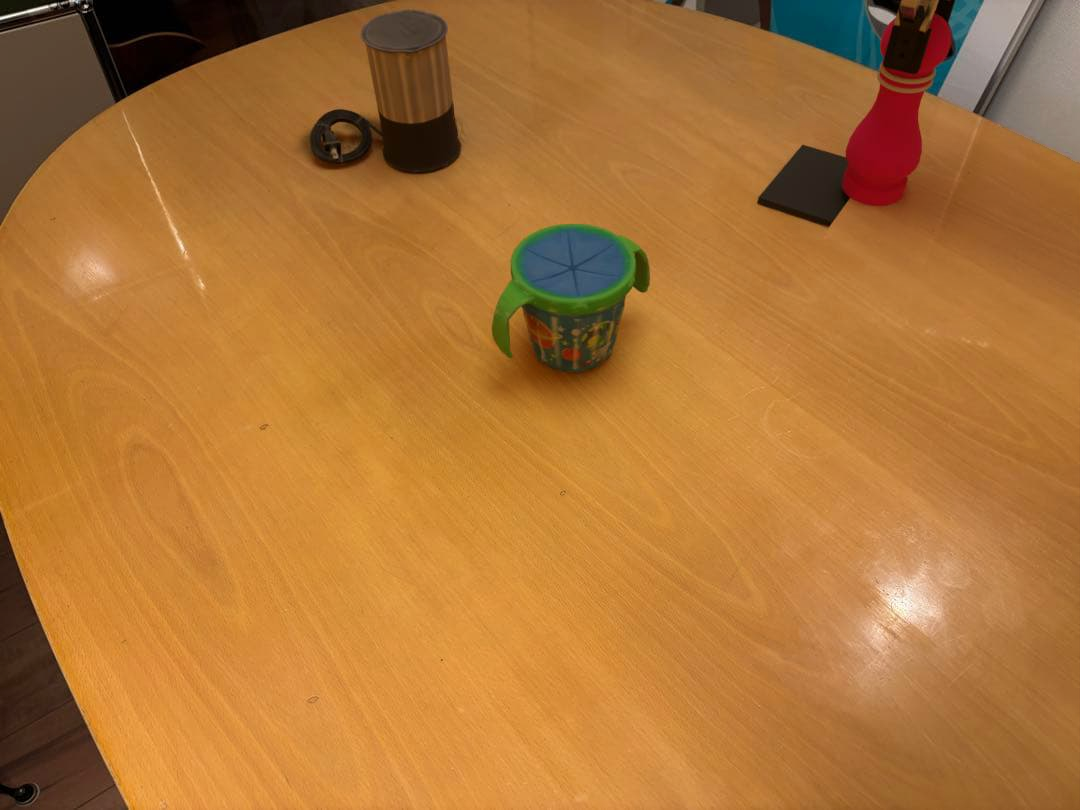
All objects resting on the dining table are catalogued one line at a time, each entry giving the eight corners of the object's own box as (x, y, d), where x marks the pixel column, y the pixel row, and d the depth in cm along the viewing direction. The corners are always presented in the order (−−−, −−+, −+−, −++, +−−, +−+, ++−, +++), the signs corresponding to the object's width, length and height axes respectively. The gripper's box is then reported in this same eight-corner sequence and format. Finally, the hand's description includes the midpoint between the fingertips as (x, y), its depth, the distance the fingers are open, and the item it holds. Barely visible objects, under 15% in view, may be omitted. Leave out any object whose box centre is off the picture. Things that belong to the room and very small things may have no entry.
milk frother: (476, 156, 101) (464, 31, 90) (355, 205, 96) (325, 78, 85) (417, 106, 110) (399, -14, 98) (302, 148, 104) (269, 25, 93)
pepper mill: (903, 171, 94) (964, -20, 79) (912, 211, 89) (979, 16, 74) (834, 168, 94) (881, -22, 80) (839, 208, 90) (891, 14, 75)
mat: (979, 203, 92) (982, 197, 92) (945, 265, 86) (947, 259, 85) (801, 150, 100) (802, 144, 100) (757, 203, 94) (758, 197, 93)
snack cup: (616, 286, 85) (619, 199, 78) (676, 352, 79) (687, 264, 72) (472, 342, 81) (461, 255, 73) (524, 416, 75) (518, 330, 67)
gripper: (998, -130, 61) (923, 106, 74) (1057, -195, 70) (980, 25, 84) (893, -146, 64) (838, 84, 77) (962, -206, 73) (903, 8, 87)
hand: (913, 52), depth 80 cm, fingers closed on pepper mill, 6 cm apart
